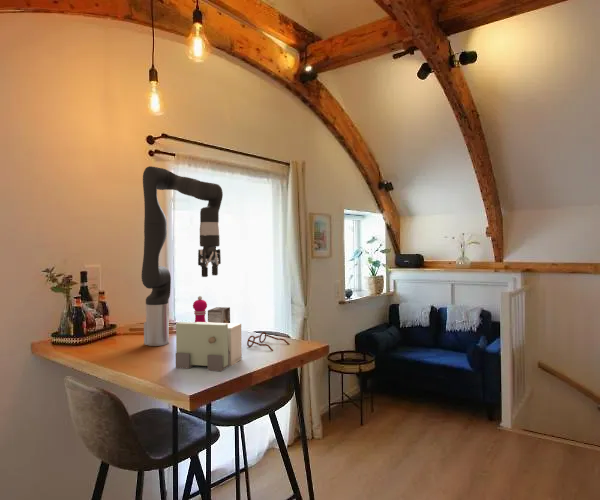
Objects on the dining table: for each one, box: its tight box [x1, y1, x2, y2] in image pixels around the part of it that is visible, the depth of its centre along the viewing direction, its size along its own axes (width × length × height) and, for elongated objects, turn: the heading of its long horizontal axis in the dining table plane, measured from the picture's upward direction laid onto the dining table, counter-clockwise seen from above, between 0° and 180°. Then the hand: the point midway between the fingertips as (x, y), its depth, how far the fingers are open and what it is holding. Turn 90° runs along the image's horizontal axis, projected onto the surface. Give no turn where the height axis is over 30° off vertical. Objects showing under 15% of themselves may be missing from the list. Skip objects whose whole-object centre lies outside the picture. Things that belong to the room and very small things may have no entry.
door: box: [175, 321, 228, 367], centre depth 147 cm, size 18×5×14 cm, turn 75°
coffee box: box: [207, 306, 231, 323], centre depth 176 cm, size 9×6×16 cm
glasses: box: [246, 331, 291, 352], centre depth 178 cm, size 13×13×5 cm
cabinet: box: [175, 321, 243, 372], centre depth 152 cm, size 18×16×13 cm
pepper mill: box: [192, 295, 208, 322], centre depth 187 cm, size 7×7×20 cm
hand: (209, 276), depth 166 cm, fingers open, 8 cm apart
